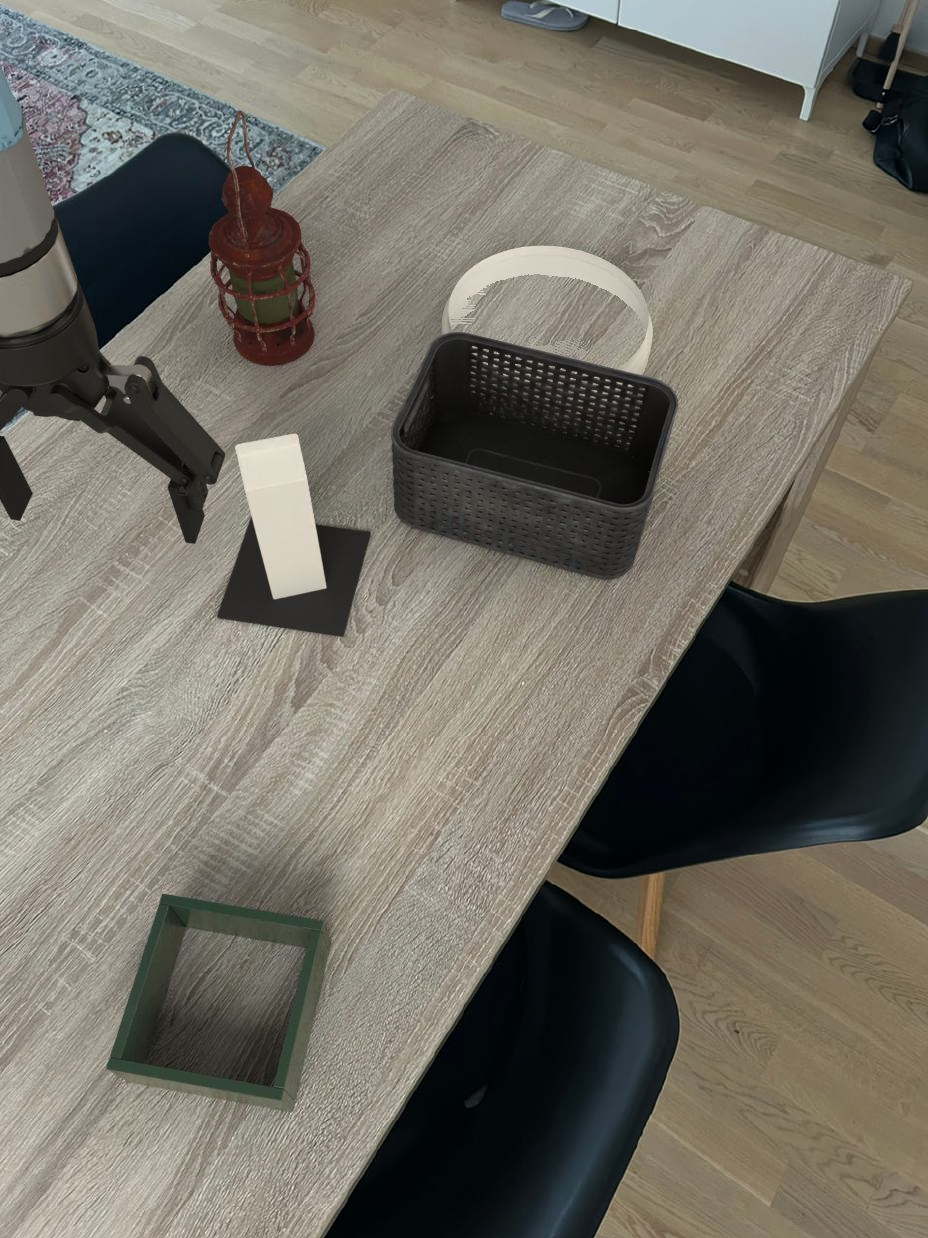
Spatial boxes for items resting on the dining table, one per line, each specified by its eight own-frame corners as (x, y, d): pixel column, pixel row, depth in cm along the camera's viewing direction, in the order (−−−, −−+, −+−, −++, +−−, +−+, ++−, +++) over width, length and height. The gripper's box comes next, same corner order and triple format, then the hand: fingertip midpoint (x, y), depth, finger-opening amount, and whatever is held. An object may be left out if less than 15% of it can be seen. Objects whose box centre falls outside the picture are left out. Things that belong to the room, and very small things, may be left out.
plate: (423, 404, 130) (422, 372, 125) (461, 263, 144) (462, 229, 139) (638, 435, 128) (646, 403, 123) (656, 288, 142) (663, 255, 137)
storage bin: (663, 462, 125) (685, 382, 114) (627, 589, 116) (647, 515, 104) (438, 407, 130) (437, 324, 118) (385, 525, 120) (379, 447, 109)
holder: (128, 1082, 88) (105, 1069, 82) (179, 916, 96) (162, 893, 90) (292, 1112, 87) (281, 1101, 81) (331, 942, 95) (323, 920, 89)
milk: (327, 589, 115) (304, 457, 96) (272, 600, 114) (239, 470, 95) (316, 545, 118) (293, 410, 99) (263, 556, 117) (229, 421, 98)
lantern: (238, 302, 139) (190, 86, 114) (328, 308, 139) (300, 93, 113) (218, 367, 133) (163, 153, 107) (312, 374, 132) (279, 161, 107)
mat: (217, 618, 113) (216, 616, 113) (252, 517, 120) (251, 514, 120) (343, 637, 112) (343, 635, 112) (370, 533, 119) (370, 531, 119)
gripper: (238, 279, 63) (279, 500, 81) (-159, 232, 64) (-31, 460, 82) (204, 367, 59) (256, 579, 77) (-218, 314, 60) (-70, 535, 78)
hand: (108, 518), depth 80 cm, fingers open, 13 cm apart
